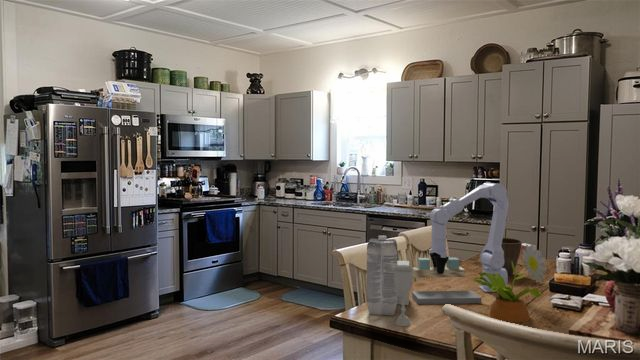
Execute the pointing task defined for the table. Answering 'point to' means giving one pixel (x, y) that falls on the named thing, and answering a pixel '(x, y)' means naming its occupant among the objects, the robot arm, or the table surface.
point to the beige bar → (434, 273)
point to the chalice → (403, 290)
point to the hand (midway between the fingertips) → (438, 271)
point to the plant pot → (510, 253)
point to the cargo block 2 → (452, 263)
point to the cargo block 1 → (424, 263)
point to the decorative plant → (507, 302)
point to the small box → (521, 256)
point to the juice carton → (381, 276)
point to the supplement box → (399, 299)
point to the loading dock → (445, 297)
